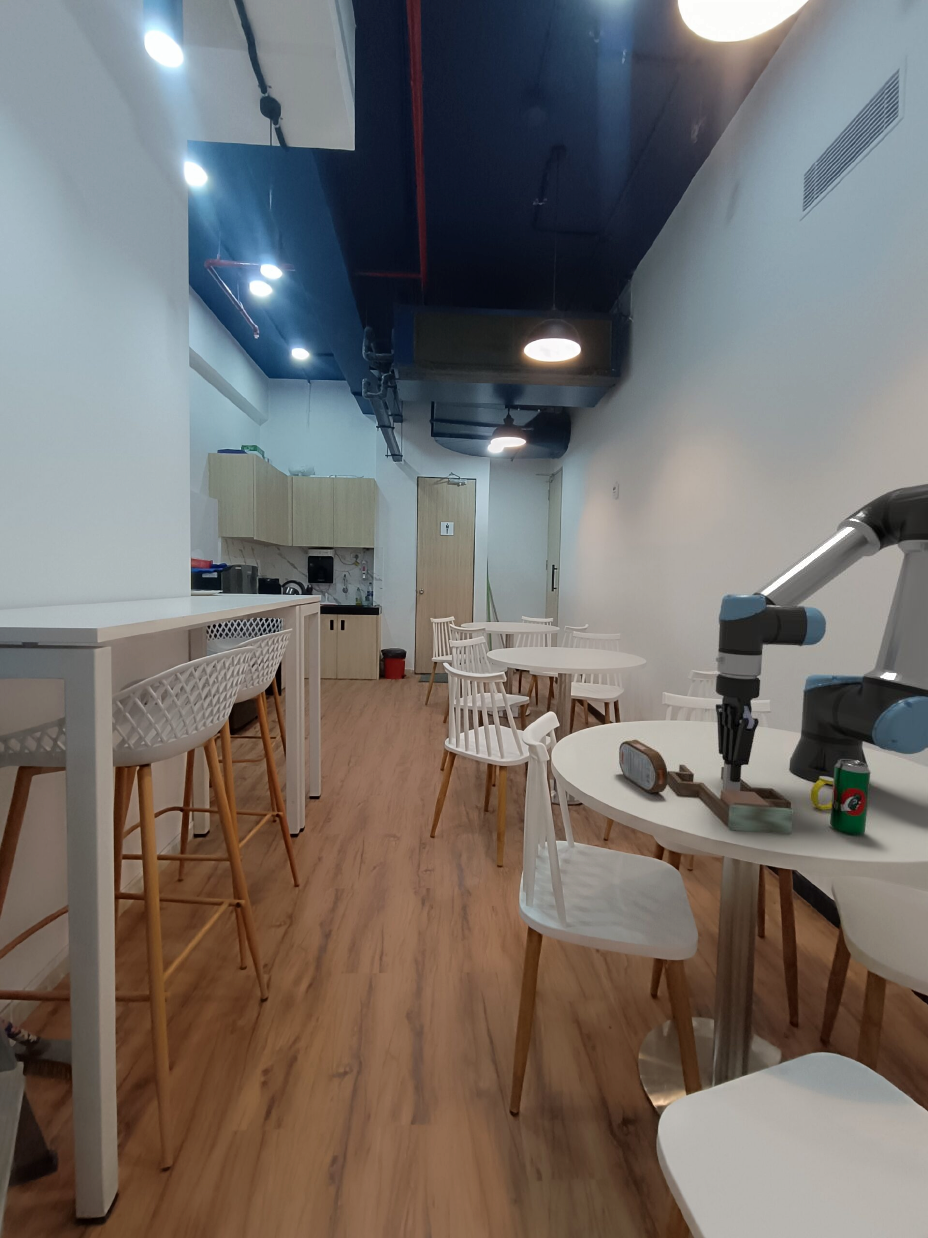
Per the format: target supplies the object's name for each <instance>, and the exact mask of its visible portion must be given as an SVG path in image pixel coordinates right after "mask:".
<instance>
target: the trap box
mask: <svg viewBox="0 0 928 1238" xmlns="http://www.w3.org/2000/svg"><path fill="white" fill-rule="evenodd" d="M723 769H724V766H721V770H720V771H721V772H720V779H721V780H722V781H723ZM667 772H668V783H667V785H668V786H669V787H670V788H671V789H672V790H673V792H675V794H677V796H684V797H686V796H687V797H699V798H700V800H701V801H703V803H704V804H705V805H706V806H707V808H709V809H710V810H711V811H712V812H713V813H714V814H715V816H716V817H718V819H720V821H721V822H722V823H723V824H724V825H725V826H726V827H727V828H728V829H729V830H730V831H739V832H740V831H742V832H756V833H757V832H759V833H761V832H762V833H774V834H787V835H789V834H790V835H791V834H792V827H793V826H792V823H793V811H794V810H793V809H792V802H791V801H790V800H789V799H788V798H786V797H785V796H784V795H782V794H781V793H780V792H778V791H777V790H775V789H774V788H773V787H772V788H769V787H755V786H751V785H749V784H748V783H747V782H746V781H744V780H743V778H741V782H740V791H745V792H755V793H756V794H757V795H758V796H760V797H761V798H762V799H763V800H764V801H765V802H767V803H768V804H769V805H770V806H769V807H759V806H743V805H730V806H729V807H728V806H727V805H726V804H724V803H723V802H722V801H721V800H720V798H719V796H717V794H715V793H714V792H713V791H712V790H711V789H710V788H709V787H708V786H707V785H706V784H705V783H704V782H699V781H694V779H695V778H694V776H695V774H694V773H693V771H692V770H690V768H689V767H687V766H686V765H685V764H678V771H672V770H667Z"/></svg>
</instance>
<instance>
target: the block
mask: <svg viewBox="0 0 928 1238" xmlns="http://www.w3.org/2000/svg"><path fill="white" fill-rule="evenodd" d="M719 799H720V800H721V801H722V802H723V803H724V804H726V805H727V806H728V807H729V806H730V805H743V806H759V807H769V806H770V805H769V804H768V803H767V802H765V801H764V800H763V799H762V798H761V797H760V796H758V795H757V794H756V793H755V792H745V791H730V790H722V789H720V798H719Z"/></svg>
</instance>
